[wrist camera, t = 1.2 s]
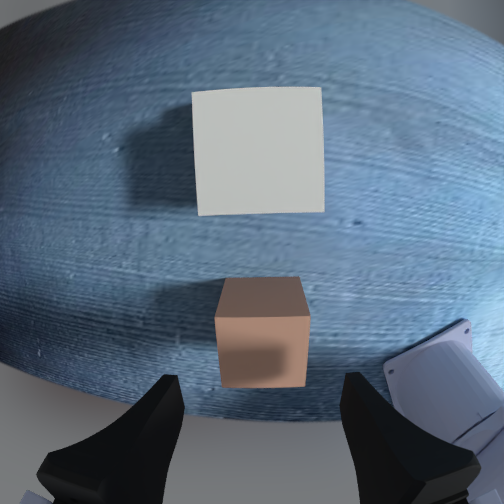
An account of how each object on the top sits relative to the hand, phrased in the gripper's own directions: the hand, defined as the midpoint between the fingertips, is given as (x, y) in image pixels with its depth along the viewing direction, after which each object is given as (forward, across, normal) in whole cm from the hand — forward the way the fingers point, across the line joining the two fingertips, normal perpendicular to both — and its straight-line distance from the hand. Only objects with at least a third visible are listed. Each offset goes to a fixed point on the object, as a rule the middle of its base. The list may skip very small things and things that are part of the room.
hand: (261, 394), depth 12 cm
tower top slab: (+5, 0, -10) cm, 11 cm away
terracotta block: (+8, 0, 0) cm, 8 cm away
